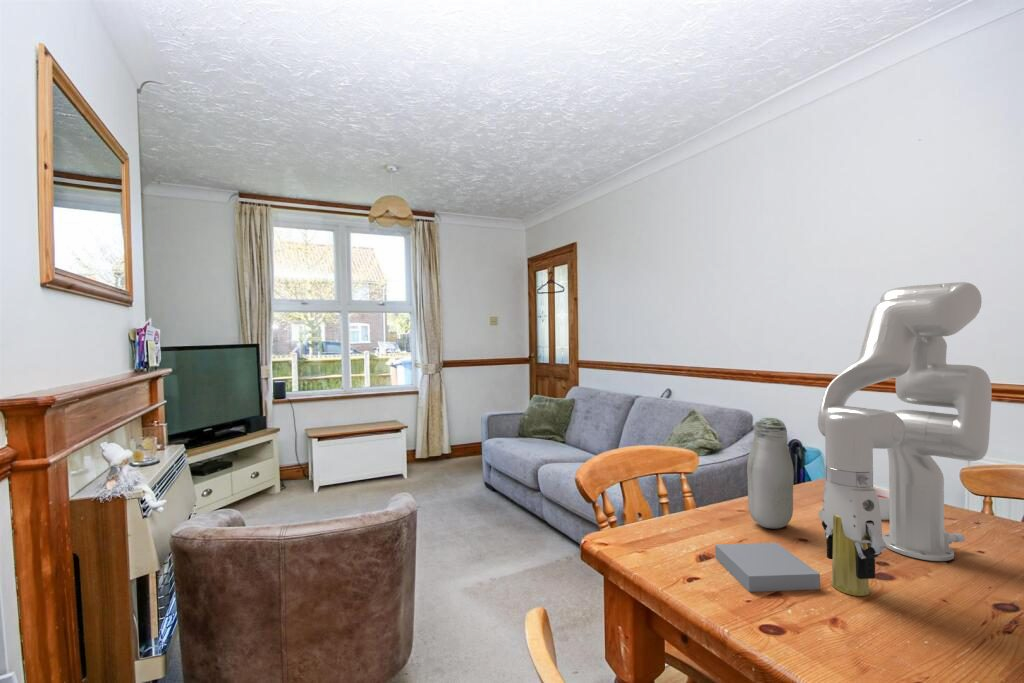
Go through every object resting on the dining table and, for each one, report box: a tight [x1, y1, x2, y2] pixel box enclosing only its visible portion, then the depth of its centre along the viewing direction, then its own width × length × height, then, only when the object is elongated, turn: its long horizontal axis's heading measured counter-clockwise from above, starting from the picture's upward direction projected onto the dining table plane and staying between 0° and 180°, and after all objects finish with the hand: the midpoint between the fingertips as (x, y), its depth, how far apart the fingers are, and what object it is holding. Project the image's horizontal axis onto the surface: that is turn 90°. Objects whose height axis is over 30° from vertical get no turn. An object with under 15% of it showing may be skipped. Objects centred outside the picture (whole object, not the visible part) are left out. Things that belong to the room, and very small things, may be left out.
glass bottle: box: [746, 417, 795, 529], centre depth 122 cm, size 10×10×28 cm
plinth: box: [714, 542, 821, 593], centre depth 98 cm, size 14×14×3 cm
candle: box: [873, 487, 890, 521], centre depth 128 cm, size 9×9×6 cm
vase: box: [830, 514, 871, 597], centre depth 92 cm, size 6×6×14 cm
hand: (849, 567), depth 92 cm, fingers open, 7 cm apart
